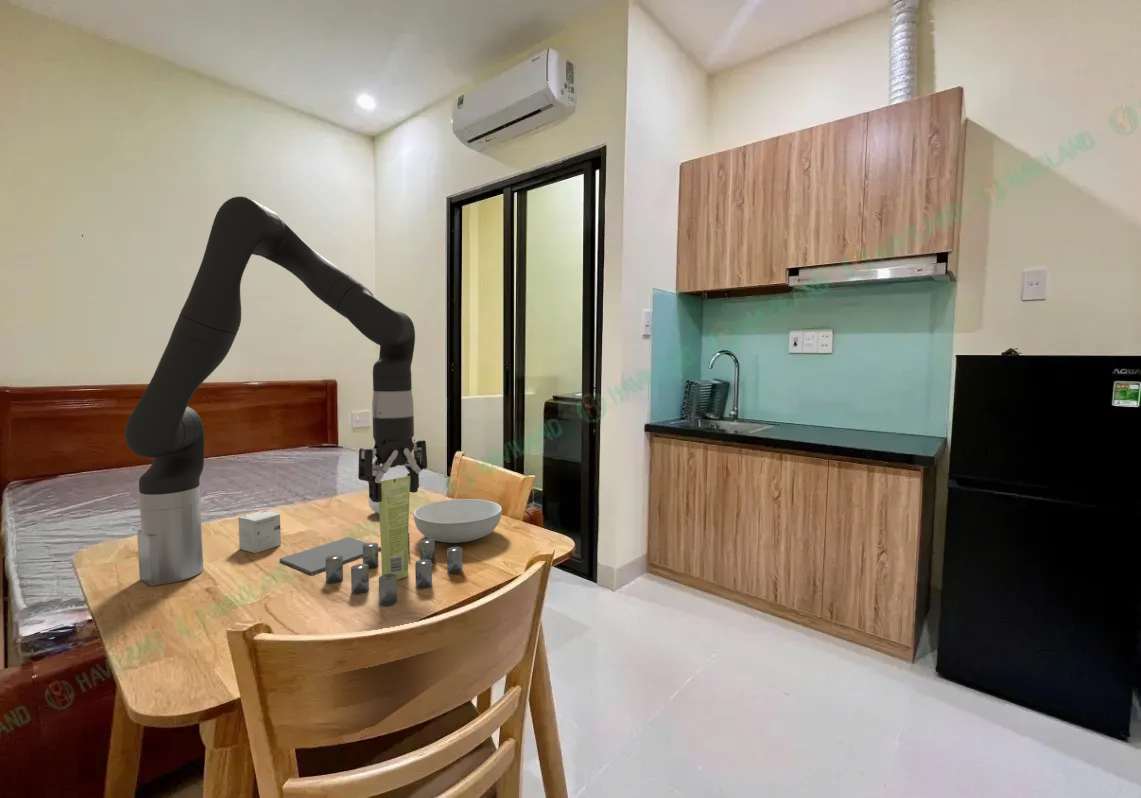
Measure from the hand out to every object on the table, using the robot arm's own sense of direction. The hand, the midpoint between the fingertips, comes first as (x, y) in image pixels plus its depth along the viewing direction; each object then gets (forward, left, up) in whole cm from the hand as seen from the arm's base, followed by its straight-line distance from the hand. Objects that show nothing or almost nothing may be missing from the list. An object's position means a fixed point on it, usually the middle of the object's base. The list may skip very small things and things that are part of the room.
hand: (395, 496), depth 99 cm
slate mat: (-1, +20, -16) cm, 26 cm away
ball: (+25, +37, -16) cm, 47 cm away
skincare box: (-7, +38, -16) cm, 42 cm away
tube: (0, 0, -16) cm, 16 cm away
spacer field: (0, 0, -16) cm, 16 cm away
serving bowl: (+23, +6, -16) cm, 29 cm away
